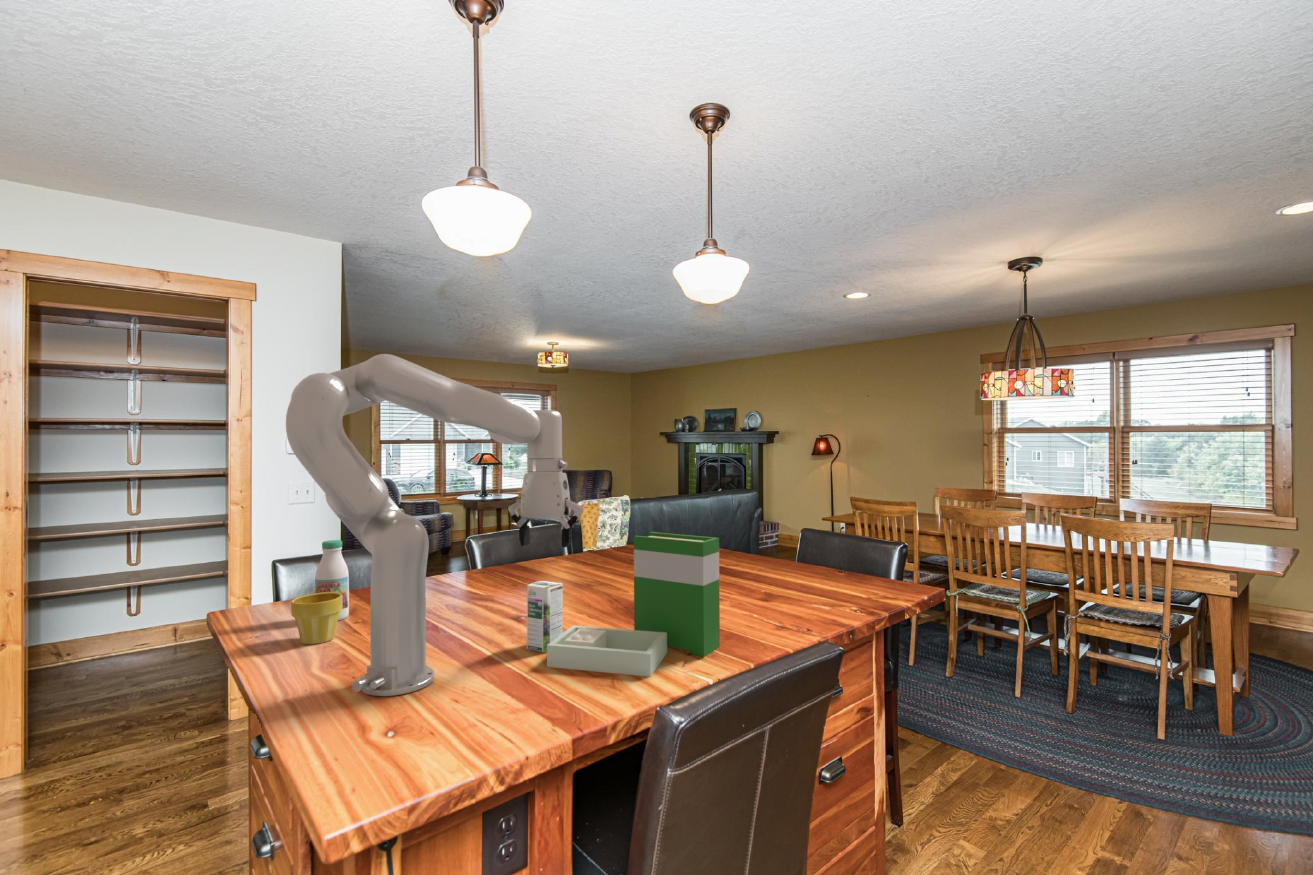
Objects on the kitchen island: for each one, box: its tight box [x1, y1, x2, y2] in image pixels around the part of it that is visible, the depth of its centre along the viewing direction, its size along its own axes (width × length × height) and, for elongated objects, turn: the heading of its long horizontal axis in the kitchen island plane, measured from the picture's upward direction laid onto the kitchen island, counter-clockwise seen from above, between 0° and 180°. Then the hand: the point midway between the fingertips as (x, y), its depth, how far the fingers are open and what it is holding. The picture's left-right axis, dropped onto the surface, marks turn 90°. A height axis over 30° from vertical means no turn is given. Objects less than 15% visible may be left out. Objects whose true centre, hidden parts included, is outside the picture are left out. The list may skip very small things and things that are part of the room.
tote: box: [546, 625, 668, 678], centre depth 121 cm, size 13×21×5 cm, turn 76°
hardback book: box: [633, 531, 721, 659], centre depth 132 cm, size 18×7×24 cm, turn 57°
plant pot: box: [290, 592, 343, 645], centre depth 136 cm, size 10×10×10 cm
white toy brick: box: [564, 628, 606, 648], centre depth 122 cm, size 8×6×5 cm
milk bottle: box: [314, 539, 350, 621], centre depth 153 cm, size 8×8×20 cm
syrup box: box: [526, 580, 564, 654], centre depth 129 cm, size 6×6×14 cm
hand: (545, 545), depth 129 cm, fingers open, 9 cm apart
